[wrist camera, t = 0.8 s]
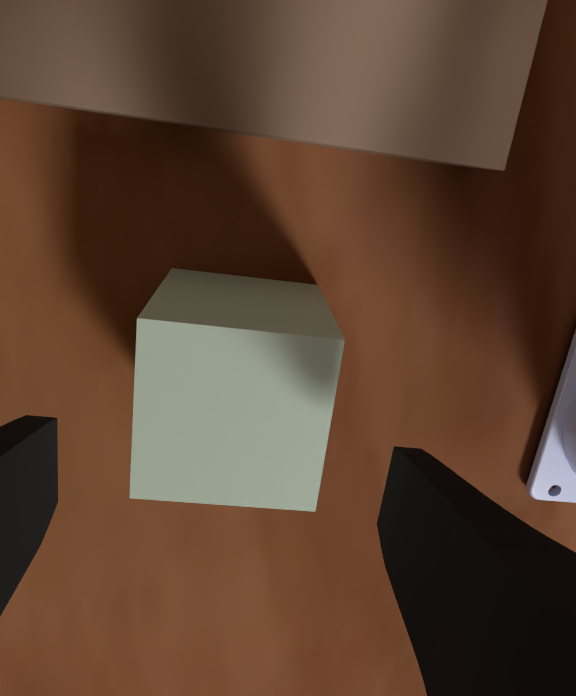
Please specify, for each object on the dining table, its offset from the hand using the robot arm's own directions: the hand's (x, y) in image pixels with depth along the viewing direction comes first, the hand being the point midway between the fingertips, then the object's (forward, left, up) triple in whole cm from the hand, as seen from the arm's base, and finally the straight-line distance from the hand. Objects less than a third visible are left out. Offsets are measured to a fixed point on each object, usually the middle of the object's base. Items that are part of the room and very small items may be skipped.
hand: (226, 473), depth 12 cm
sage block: (0, 0, -8) cm, 8 cm away
